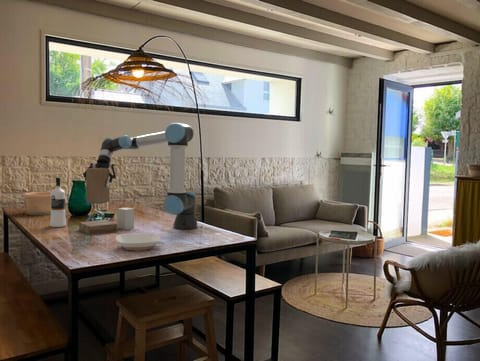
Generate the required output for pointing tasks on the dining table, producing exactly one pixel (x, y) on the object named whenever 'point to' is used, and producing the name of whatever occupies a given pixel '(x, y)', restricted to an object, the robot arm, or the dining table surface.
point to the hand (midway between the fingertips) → (96, 186)
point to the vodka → (58, 206)
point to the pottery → (38, 203)
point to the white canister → (125, 218)
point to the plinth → (97, 227)
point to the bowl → (138, 240)
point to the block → (97, 185)
